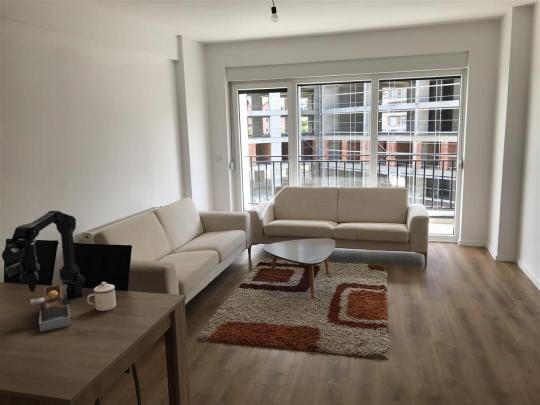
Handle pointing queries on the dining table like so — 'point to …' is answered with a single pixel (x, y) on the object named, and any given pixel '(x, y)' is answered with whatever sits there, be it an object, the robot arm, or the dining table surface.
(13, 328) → the dining table surface
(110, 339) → the dining table surface
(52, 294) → the ball
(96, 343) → the dining table surface
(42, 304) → the stand
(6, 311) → the dining table surface
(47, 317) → the bin
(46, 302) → the chute
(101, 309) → the teacup with lid
